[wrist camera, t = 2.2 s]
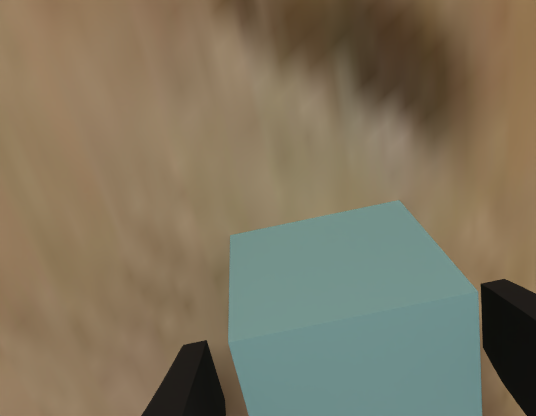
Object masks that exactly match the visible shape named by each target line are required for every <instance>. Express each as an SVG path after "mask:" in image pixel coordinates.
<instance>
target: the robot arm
mask: <svg viewBox="0 0 536 416" xmlns="http://www.w3.org/2000/svg"><path fill="white" fill-rule="evenodd" d="M481 304H482V334H483V348H484V350H485V352H486V354H487V356H488V358H489V359H490V361H491V363H492V365H493V367H494V369H495V370H496V372H497V374H498V375H499V377H500V379H501V381H502V382H503V384H504V385H505V387H506V388H507V389H508V391H509V392H510V394H511V395H512V396H513V398H514V399H515V400H516V402H517V403H518V404H519V406H520V407H521V409H522V410H523V411H524V413H525V414H526V415H527V416H536V294H535V293H533V292H531V291H529V290H527V289H525V288H523V287H521V286H519V285H517V284H515V283H513V282H510V281H508V280H506V279H502V280H497V281H492V282H487V283H482V284H481ZM141 416H226V411H225V398H224V395H223V392H222V389H221V385H220V382H219V379H218V376H217V373H216V369H215V366H214V363H213V360H212V356H211V353H210V350H209V347H208V343H207V340H205V341H200V342H196V343H191V344H186V345H183V347H182V348H181V350H180V351H179V353H178V355H177V357H176V358H175V360H174V362H173V364H172V366H171V367H170V369H169V371H168V373H167V374H166V376H165V378H164V380H163V381H162V383H161V385H160V386H159V388H158V390H157V391H156V393H155V395H154V396H153V398H152V400H151V401H150V403H149V404H148V406H147V408H146V409H145V411H144V412H143V414H142V415H141Z"/></svg>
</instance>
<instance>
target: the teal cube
mask: <svg viewBox="0 0 536 416" xmlns="http://www.w3.org/2000/svg"><path fill="white" fill-rule="evenodd" d="M228 343H229V347H230V350H231V354H232V358H233V361H234V365H235V368H236V372H237V375H238V379H239V382H240V386H241V389H242V393H243V396H244V400H245V404H246V407H247V411H248V414H249V416H482V394H481V364H480V334H479V304H478V291H477V290H476V289H475V287H474V286H473V285H472V284H471V283H470V282H469V281H468V279H467V278H466V277H465V276H464V275H463V274H462V272H461V271H460V270H459V269H458V268H457V267H456V265H455V264H454V263H453V262H452V261H451V260H450V258H449V257H448V256H447V255H446V254H445V253H444V252H443V250H442V249H441V248H440V247H439V246H438V245H437V243H436V242H435V241H434V240H433V239H432V238H431V236H430V235H429V234H428V233H427V232H426V231H425V230H424V228H423V227H422V226H421V225H420V224H419V223H418V221H417V220H416V219H415V218H414V217H413V216H412V214H411V213H410V212H409V211H408V210H407V209H406V208H405V206H404V205H403V204H402V203H401V202H400V201H399V200H398V201H393V202H388V203H383V204H378V205H374V206H369V207H364V208H359V209H354V210H350V211H345V212H340V213H335V214H330V215H326V216H321V217H316V218H311V219H306V220H302V221H297V222H292V223H287V224H282V225H278V226H273V227H268V228H263V229H258V230H254V231H249V232H244V233H239V234H234V235H230V276H229V328H228Z"/></svg>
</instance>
